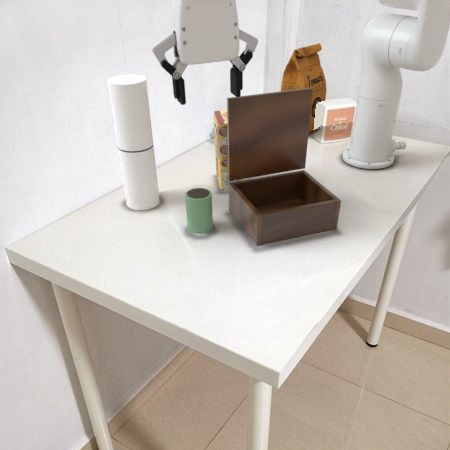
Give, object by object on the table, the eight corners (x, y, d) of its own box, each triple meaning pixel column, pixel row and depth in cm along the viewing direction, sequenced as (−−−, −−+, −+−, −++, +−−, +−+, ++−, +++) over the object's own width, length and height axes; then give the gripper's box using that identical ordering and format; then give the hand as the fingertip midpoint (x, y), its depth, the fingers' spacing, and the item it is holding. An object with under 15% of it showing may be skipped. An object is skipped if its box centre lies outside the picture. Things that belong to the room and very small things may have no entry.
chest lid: (313, 88, 88) (300, 81, 91) (228, 98, 83) (218, 91, 87) (305, 168, 97) (294, 159, 101) (229, 181, 93) (220, 171, 97)
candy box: (238, 191, 106) (238, 122, 96) (219, 193, 106) (217, 123, 96) (232, 175, 113) (232, 109, 103) (214, 176, 112) (212, 110, 103)
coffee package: (327, 129, 136) (338, 44, 122) (299, 140, 130) (307, 52, 116) (301, 121, 142) (308, 39, 128) (273, 131, 135) (277, 46, 122)
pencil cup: (208, 222, 95) (206, 185, 90) (216, 234, 92) (215, 196, 87) (184, 227, 94) (181, 189, 89) (191, 239, 90) (189, 201, 85)
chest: (336, 232, 91) (341, 200, 87) (256, 249, 87) (257, 216, 83) (301, 200, 102) (304, 169, 98) (228, 213, 98) (228, 182, 94)
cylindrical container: (126, 211, 99) (106, 85, 84) (126, 196, 105) (107, 75, 89) (160, 208, 100) (146, 83, 84) (158, 193, 106) (145, 73, 90)
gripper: (248, -29, 74) (247, 86, 85) (139, -22, 69) (153, 99, 80) (268, -25, 68) (264, 98, 79) (151, -17, 64) (164, 112, 75)
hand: (208, 98), depth 80 cm, fingers open, 9 cm apart
